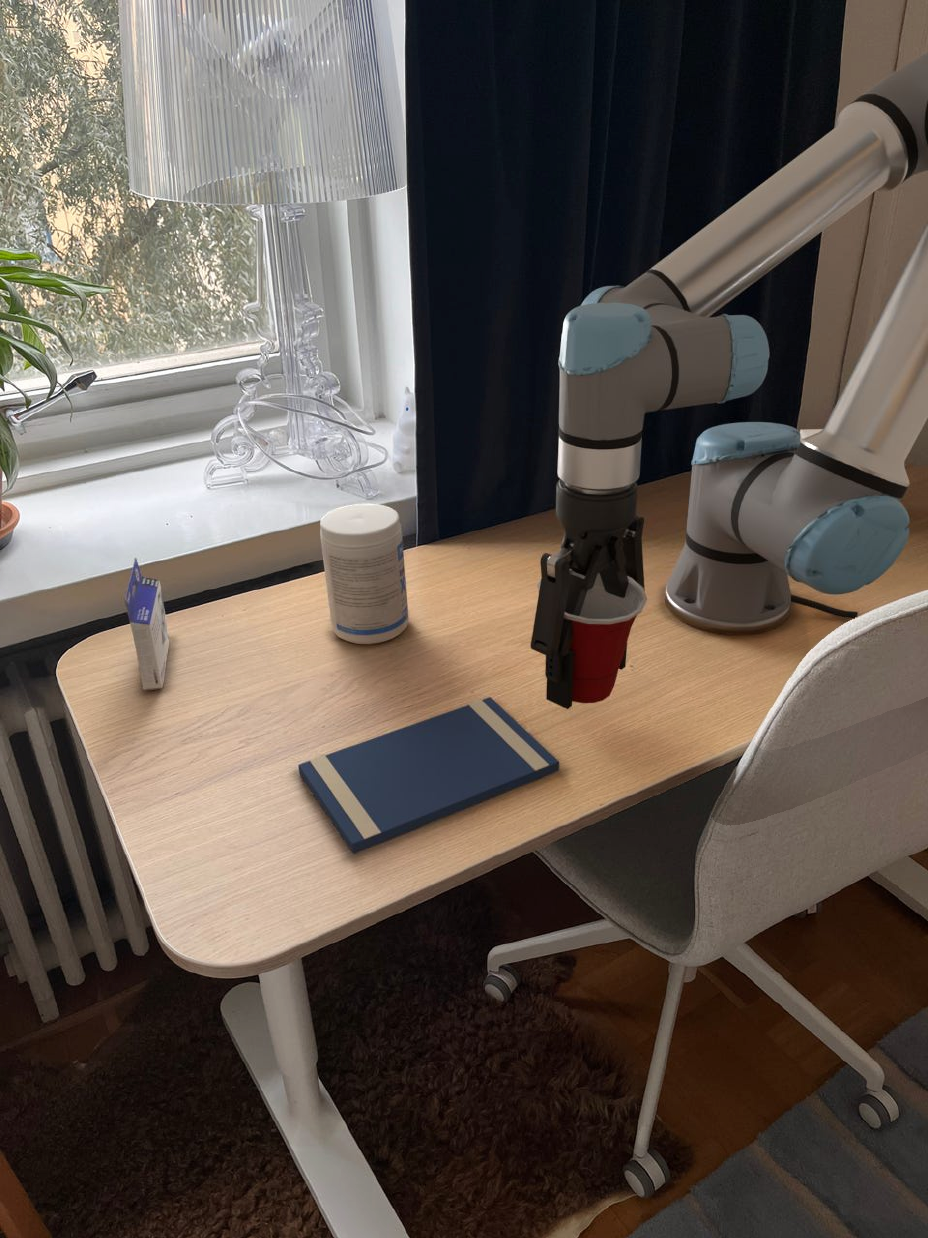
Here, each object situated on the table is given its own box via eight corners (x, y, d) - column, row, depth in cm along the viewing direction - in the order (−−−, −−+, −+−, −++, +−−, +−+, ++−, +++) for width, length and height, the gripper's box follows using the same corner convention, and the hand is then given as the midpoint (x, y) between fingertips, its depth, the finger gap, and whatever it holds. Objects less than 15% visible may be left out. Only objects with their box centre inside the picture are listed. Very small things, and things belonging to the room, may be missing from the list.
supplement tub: (423, 631, 118) (416, 521, 110) (354, 656, 113) (343, 543, 106) (384, 600, 125) (375, 495, 118) (318, 622, 121) (305, 514, 113)
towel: (490, 705, 104) (490, 695, 103) (559, 771, 94) (559, 760, 94) (299, 774, 95) (297, 763, 94) (353, 854, 85) (352, 843, 84)
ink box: (165, 690, 108) (145, 600, 103) (143, 692, 108) (122, 602, 102) (172, 638, 118) (154, 553, 112) (152, 640, 118) (134, 555, 112)
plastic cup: (612, 731, 94) (620, 626, 88) (516, 699, 99) (517, 597, 93) (655, 678, 102) (664, 578, 96) (564, 651, 107) (567, 554, 101)
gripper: (628, 440, 98) (615, 630, 110) (490, 505, 85) (492, 715, 96) (693, 456, 94) (673, 653, 105) (558, 528, 80) (551, 745, 91)
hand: (586, 682), depth 101 cm, fingers closed on plastic cup, 9 cm apart
